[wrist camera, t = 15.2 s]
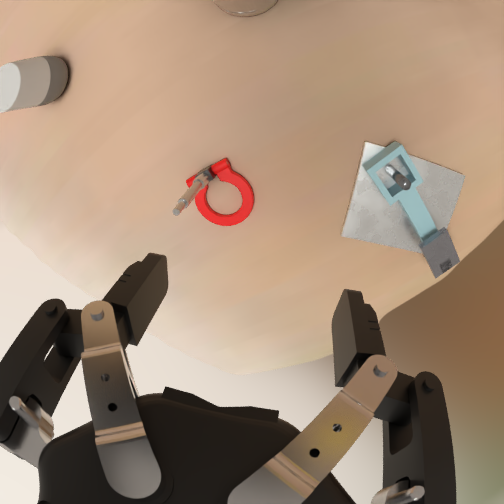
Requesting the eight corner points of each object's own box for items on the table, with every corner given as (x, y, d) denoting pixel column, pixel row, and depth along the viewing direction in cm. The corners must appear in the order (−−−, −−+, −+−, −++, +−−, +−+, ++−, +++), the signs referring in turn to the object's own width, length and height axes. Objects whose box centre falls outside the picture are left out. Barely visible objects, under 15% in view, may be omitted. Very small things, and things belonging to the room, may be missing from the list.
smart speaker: (77, 88, 35) (17, 98, 23) (47, 110, 37) (-8, 127, 26) (68, 46, 31) (9, 48, 19) (38, 71, 33) (-16, 80, 21)
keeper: (444, 241, 40) (460, 261, 35) (422, 256, 42) (435, 278, 37) (430, 212, 38) (447, 230, 33) (407, 228, 40) (420, 249, 35)
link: (361, 165, 36) (366, 170, 34) (394, 141, 33) (401, 144, 31) (415, 248, 41) (421, 258, 39) (443, 228, 38) (451, 237, 36)
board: (364, 141, 35) (365, 141, 34) (462, 174, 34) (465, 176, 33) (340, 233, 43) (341, 236, 42) (433, 253, 42) (434, 256, 41)
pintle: (386, 164, 35) (402, 178, 29) (395, 166, 35) (412, 181, 29) (384, 173, 36) (399, 188, 30) (392, 175, 36) (409, 191, 30)
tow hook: (264, 208, 43) (231, 152, 39) (253, 261, 32) (205, 187, 28) (216, 230, 47) (183, 180, 42) (191, 285, 35) (143, 222, 31)
